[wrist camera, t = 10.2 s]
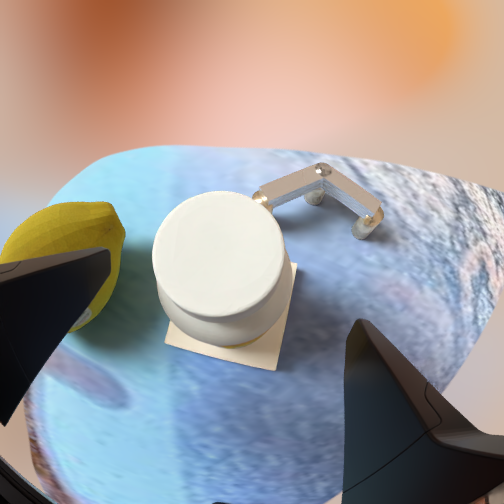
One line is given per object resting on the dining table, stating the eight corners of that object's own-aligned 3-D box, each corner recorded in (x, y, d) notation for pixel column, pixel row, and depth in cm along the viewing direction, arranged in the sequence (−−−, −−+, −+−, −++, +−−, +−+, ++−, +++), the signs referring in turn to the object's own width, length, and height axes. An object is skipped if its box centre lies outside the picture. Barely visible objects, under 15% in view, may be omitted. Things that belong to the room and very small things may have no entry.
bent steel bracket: (366, 253, 19) (387, 233, 16) (249, 227, 20) (250, 201, 17) (368, 204, 21) (386, 179, 18) (262, 179, 22) (264, 148, 18)
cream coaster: (273, 370, 16) (275, 371, 16) (168, 343, 17) (164, 342, 16) (294, 268, 19) (297, 263, 18) (196, 246, 19) (194, 241, 18)
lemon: (51, 356, 16) (-23, 344, 9) (35, 269, 18) (-26, 231, 11) (166, 307, 18) (114, 272, 10) (135, 215, 20) (91, 149, 13)
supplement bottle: (179, 335, 16) (104, 308, 7) (202, 256, 18) (165, 162, 9) (264, 358, 16) (286, 362, 7) (284, 275, 18) (319, 191, 9)
